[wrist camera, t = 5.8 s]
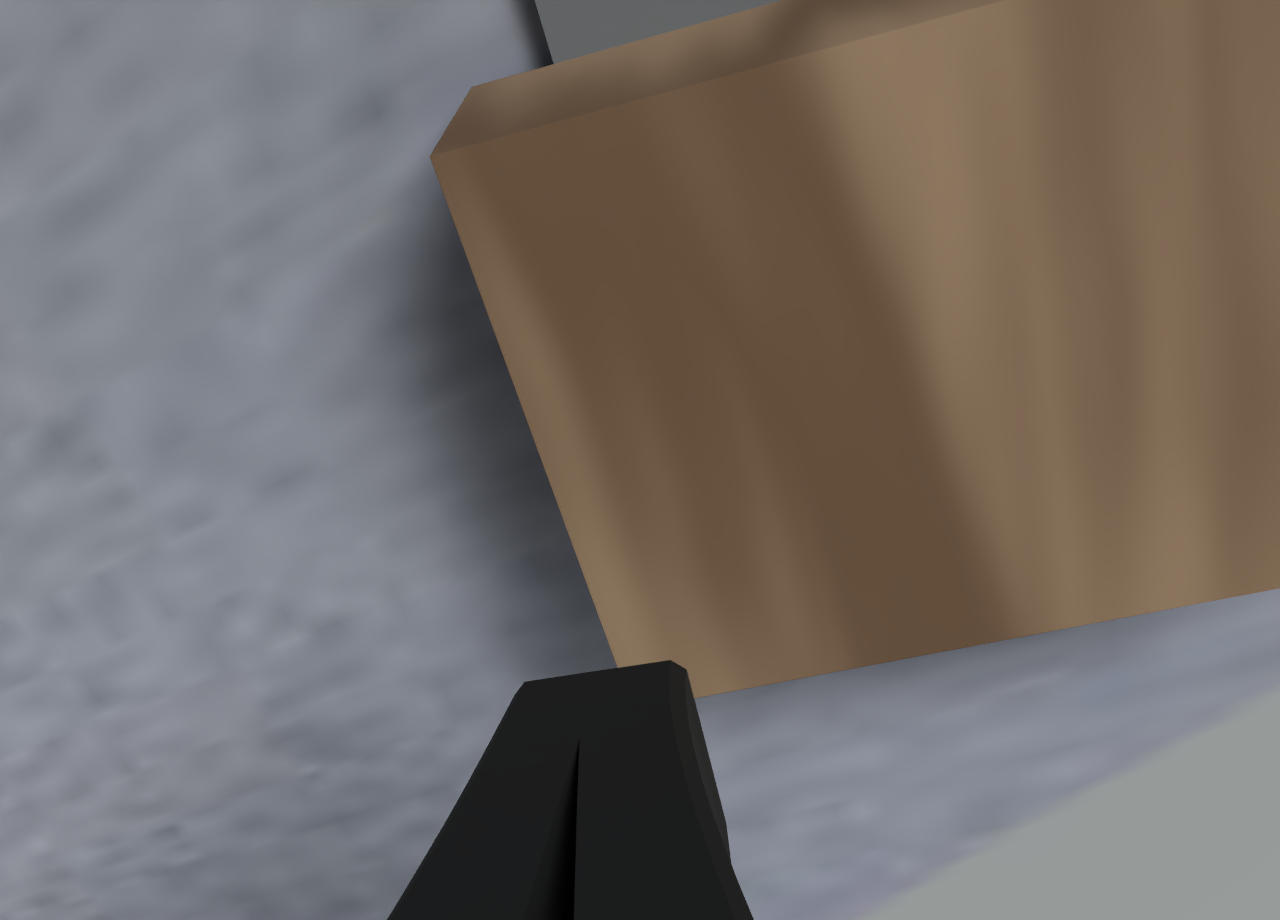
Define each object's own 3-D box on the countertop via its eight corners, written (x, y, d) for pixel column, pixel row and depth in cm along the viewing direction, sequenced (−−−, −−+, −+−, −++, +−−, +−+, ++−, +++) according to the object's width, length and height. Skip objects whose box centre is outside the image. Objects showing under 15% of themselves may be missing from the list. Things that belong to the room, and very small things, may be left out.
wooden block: (632, 710, 16) (1402, 565, 15) (430, 156, 12) (1452, -122, 11) (638, 579, 19) (1294, 444, 17) (472, 86, 15) (1301, -145, 13)
